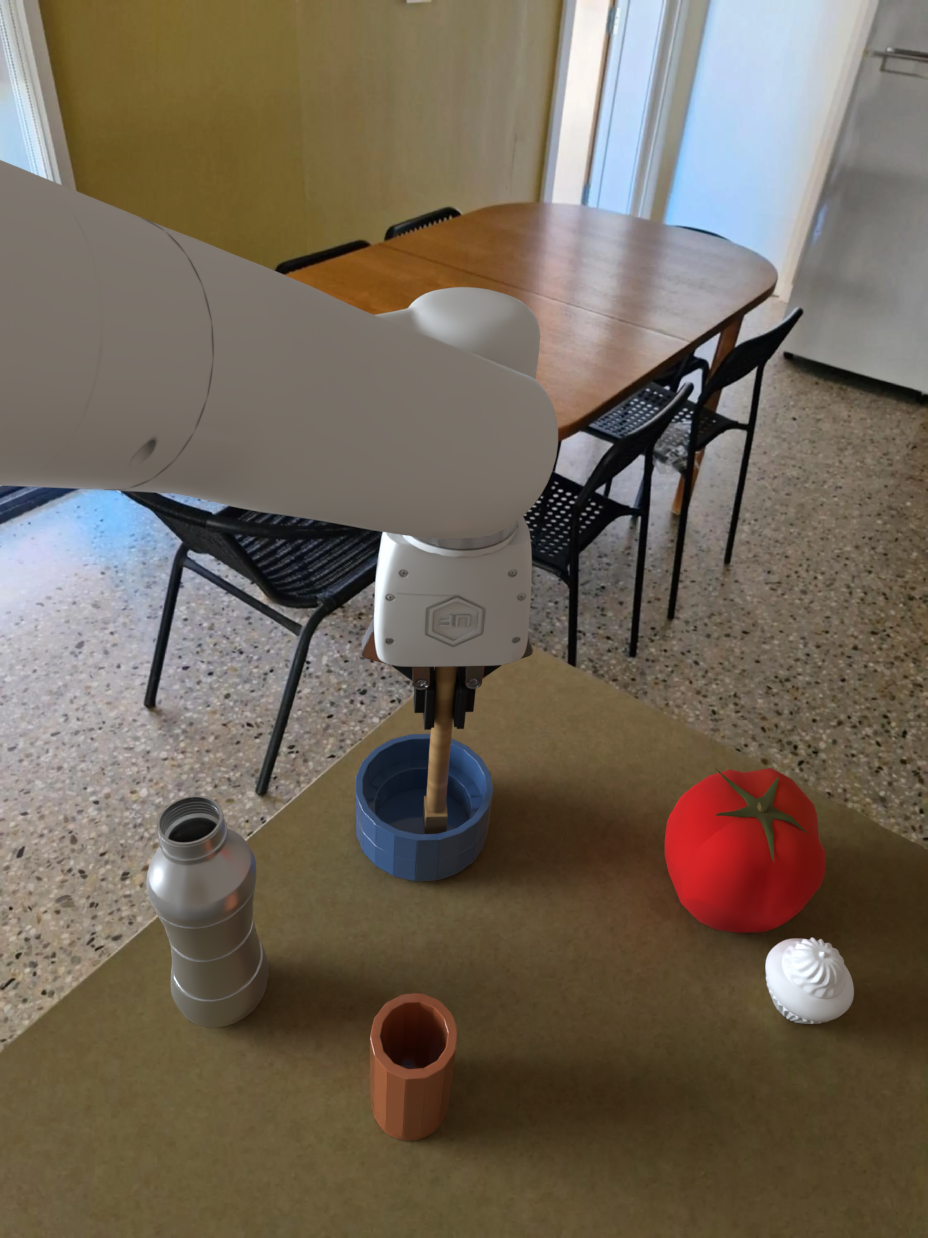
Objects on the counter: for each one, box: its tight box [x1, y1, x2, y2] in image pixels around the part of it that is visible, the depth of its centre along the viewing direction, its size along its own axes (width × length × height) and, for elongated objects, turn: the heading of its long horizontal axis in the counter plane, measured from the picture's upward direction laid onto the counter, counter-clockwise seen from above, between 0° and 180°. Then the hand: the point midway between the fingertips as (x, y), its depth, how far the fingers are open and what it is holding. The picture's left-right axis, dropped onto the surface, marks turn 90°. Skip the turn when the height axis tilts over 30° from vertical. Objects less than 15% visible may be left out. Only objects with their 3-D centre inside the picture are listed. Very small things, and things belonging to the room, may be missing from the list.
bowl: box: [355, 733, 494, 882], centre depth 75 cm, size 11×11×6 cm
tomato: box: [664, 767, 827, 934], centre depth 70 cm, size 12×13×12 cm
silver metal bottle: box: [145, 795, 270, 1029], centre depth 58 cm, size 6×7×20 cm
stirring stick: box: [423, 666, 457, 834], centre depth 68 cm, size 2×2×19 cm
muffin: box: [764, 937, 855, 1025], centre depth 64 cm, size 6×6×7 cm
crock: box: [369, 992, 459, 1142], centre depth 56 cm, size 5×5×9 cm
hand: (442, 714), depth 66 cm, fingers closed on stirring stick, 1 cm apart
